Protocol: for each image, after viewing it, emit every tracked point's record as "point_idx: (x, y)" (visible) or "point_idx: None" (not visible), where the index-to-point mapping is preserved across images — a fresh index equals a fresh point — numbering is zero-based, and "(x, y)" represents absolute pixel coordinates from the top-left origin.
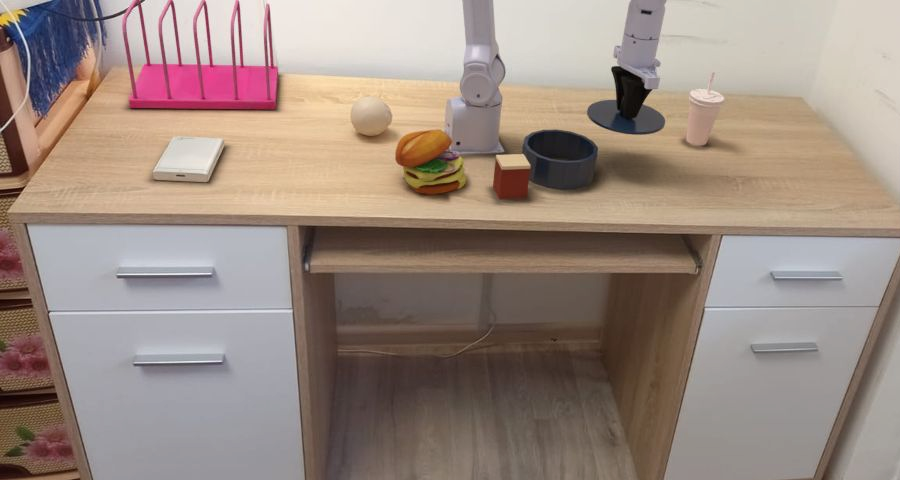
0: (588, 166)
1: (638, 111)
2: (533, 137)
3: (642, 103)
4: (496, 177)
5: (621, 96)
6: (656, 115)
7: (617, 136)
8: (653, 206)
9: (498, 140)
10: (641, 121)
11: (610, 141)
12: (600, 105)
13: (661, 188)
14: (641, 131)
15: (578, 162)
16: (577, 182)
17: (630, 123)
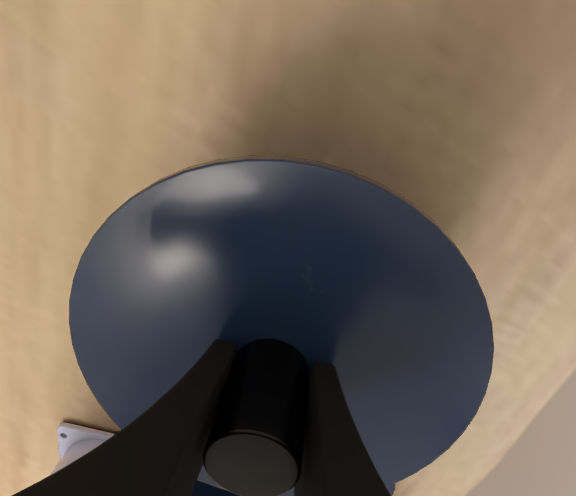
0: None
1: (341, 393)
2: (195, 488)
3: (361, 440)
4: None
5: (202, 459)
6: (322, 214)
7: (70, 91)
8: (557, 276)
9: (101, 435)
10: (366, 344)
11: (110, 145)
12: (139, 408)
13: (480, 180)
14: (470, 410)
15: (393, 491)
16: None
17: (367, 403)
